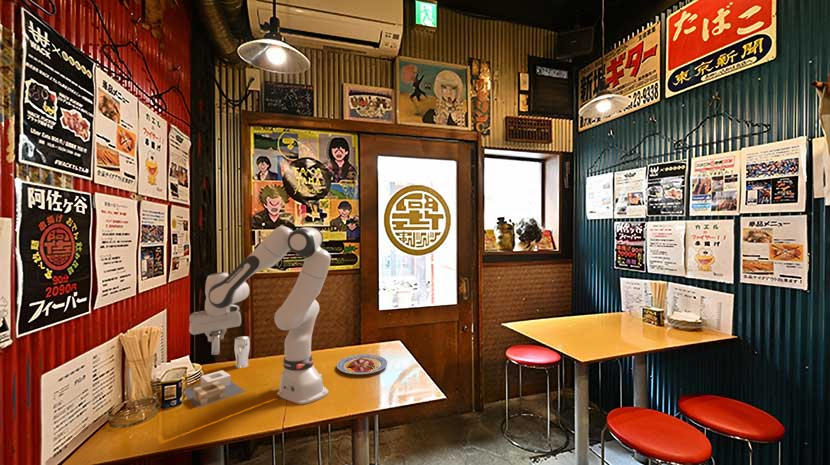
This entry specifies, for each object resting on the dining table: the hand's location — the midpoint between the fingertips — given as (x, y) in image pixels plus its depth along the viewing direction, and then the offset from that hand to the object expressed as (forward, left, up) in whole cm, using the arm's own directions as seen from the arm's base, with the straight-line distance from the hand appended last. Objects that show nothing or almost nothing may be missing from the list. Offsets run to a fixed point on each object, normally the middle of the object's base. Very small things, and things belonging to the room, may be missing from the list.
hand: (215, 340), depth 150 cm
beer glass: (+13, -17, -21) cm, 30 cm away
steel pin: (0, 0, -6) cm, 6 cm away
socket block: (0, 0, -20) cm, 20 cm away
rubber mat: (-5, +3, -21) cm, 22 cm away
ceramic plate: (-32, -58, -21) cm, 70 cm away
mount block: (-11, +6, -20) cm, 23 cm away
